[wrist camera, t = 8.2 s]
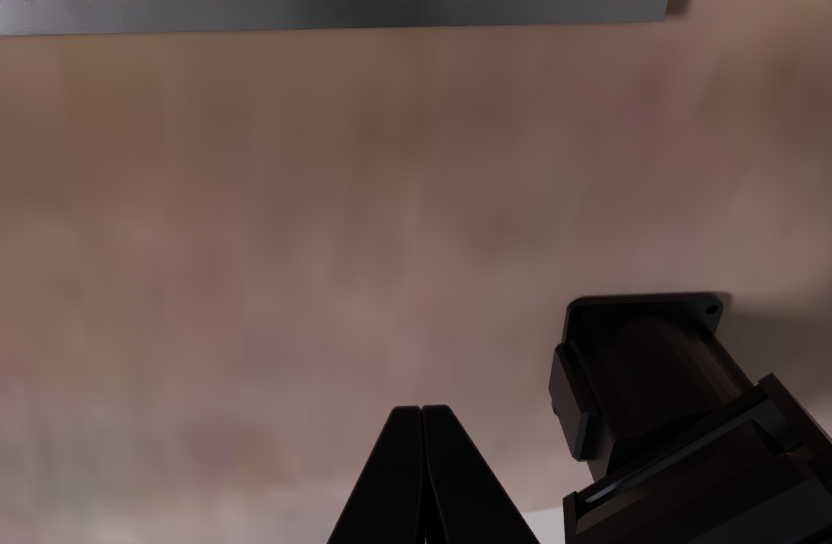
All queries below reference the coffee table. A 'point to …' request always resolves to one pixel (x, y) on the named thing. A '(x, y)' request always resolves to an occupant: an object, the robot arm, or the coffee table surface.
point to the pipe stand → (305, 14)
